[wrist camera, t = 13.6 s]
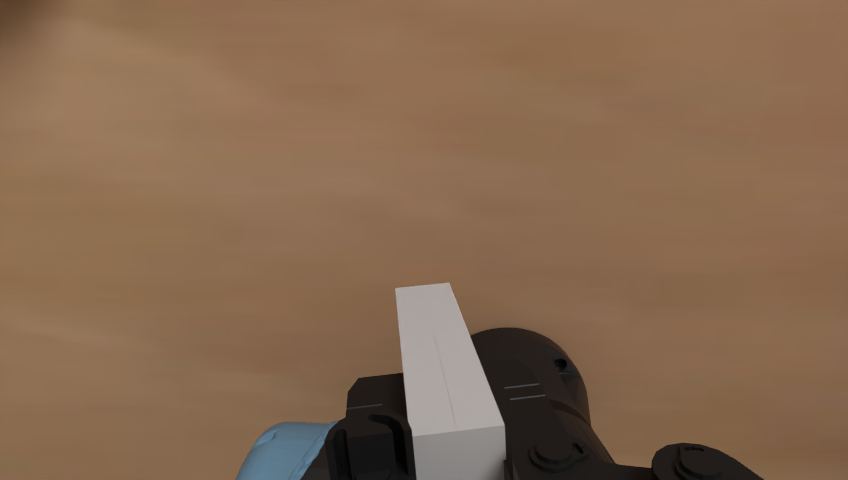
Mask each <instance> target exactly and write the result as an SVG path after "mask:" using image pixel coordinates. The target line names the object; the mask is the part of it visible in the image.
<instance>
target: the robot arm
mask: <svg viewBox="0 0 848 480" xmlns="http://www.w3.org/2000/svg"><path fill="white" fill-rule="evenodd" d="M395 291H396V301H397V312H398V322H399V333H400V343H401V353H402V364H403V373H398V374H389V375H380V376H372V377H363V378H358V380H357V381H356V382H355V383H354V385H353V386H352V387H351V389H350V390H349V391H348V398H347V410H346V418H344V419H342V420H340V421H333V422H332V423H330V424H325V423H306V422H283V423H279V424H276V425H274V426H272V427H271V428H269V429H268V430H266V431H265V432H264V433H263V434H262V435H261V436H260V437H259V438H258V439H257V441H256V442H255V444H254V445H253V447H252V448H251V450H250V452H249V453H248V455H247V457H246V459H245V461H244V463H243V465H242V467H241V469H240V471H239V473H238V475H237V477H236V480H764V479H762V478H761V477H759V476H758V475H757V474H755V473H754V472H752V471H751V470H750V469H748V468H747V467H745V466H744V465H743V464H741V463H740V462H738V461H737V460H736V459H734V458H732V457H730V456H728V455H727V454H725V453H723V452H721V451H719V450H717V449H713V448H710V447H707V446H704V445H700V444H690V443H678V444H672V445H667V446H665V447H663V448H662V449H660V450H658V451H656V453H655V455H654V457H653V460H652V468H644V467H635V466H625V465H618V464H616V463H615V462H614V460H613V459H612V457H611V456H610V454H609V453H608V451H607V450H606V448H605V447H604V446H603V444H602V443H601V441H600V440H599V438H598V437H597V435H596V434H595V432H594V431H593V429H592V428H591V420H590V413H589V405H588V397H587V391H586V388H585V384H584V382H583V379H582V377H581V375H580V373H579V371H578V369H577V368H576V366H575V365H574V364H573V362H572V361H571V360H570V358H569V357H568V355H567V354H566V353H565V352H564V351H563V350H562V349H561V348H560V347H559V346H558V345H557V344H556V343H555V342H553V341H552V340H550V339H548V338H547V337H545V336H543V335H541V334H538V333H536V332H533V331H529V330H525V329H519V328H497V329H490V330H486V331H482V332H479V333H476V334H474V335H471V336H470V335H469V332H468V330H467V327H466V325H465V322H464V320H463V317H462V314H461V312H460V309H459V307H458V304H457V302H456V299H455V296H454V294H453V291H452V289H451V286H450V284H449V283H441V284H432V285H422V286H413V287H403V288H395Z"/></svg>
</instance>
